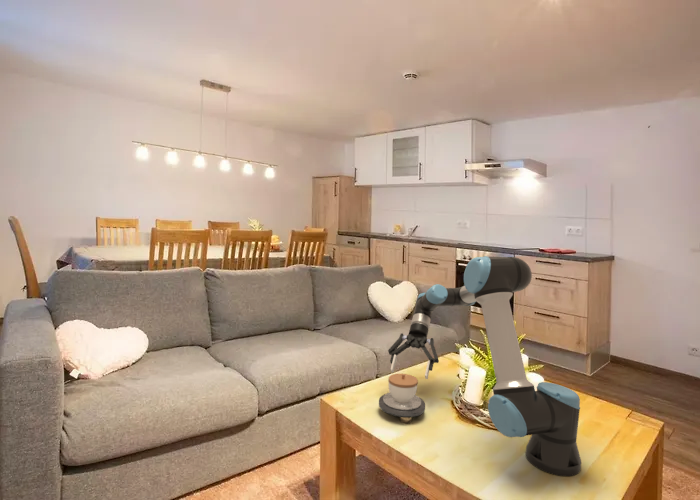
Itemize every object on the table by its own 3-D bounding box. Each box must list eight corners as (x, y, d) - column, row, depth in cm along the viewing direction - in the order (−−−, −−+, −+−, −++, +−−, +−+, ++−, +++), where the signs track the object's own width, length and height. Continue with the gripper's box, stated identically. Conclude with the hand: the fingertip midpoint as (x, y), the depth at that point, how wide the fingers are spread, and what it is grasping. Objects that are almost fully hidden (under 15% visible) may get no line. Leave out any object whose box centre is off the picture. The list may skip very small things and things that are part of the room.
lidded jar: (421, 397, 156) (422, 373, 155) (409, 408, 147) (410, 383, 146) (395, 390, 162) (396, 367, 161) (382, 400, 153) (383, 375, 152)
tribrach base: (429, 407, 160) (429, 395, 159) (418, 428, 144) (419, 414, 143) (386, 398, 166) (387, 386, 166) (372, 417, 150) (372, 404, 150)
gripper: (450, 336, 173) (442, 384, 160) (392, 327, 182) (380, 372, 170) (449, 326, 167) (440, 376, 155) (389, 318, 177) (376, 364, 164)
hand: (408, 374), depth 162 cm, fingers open, 13 cm apart
